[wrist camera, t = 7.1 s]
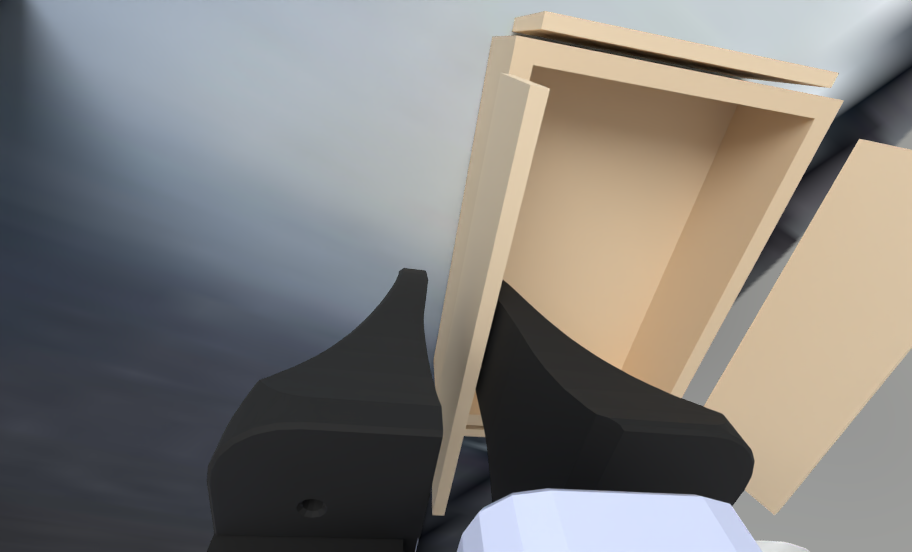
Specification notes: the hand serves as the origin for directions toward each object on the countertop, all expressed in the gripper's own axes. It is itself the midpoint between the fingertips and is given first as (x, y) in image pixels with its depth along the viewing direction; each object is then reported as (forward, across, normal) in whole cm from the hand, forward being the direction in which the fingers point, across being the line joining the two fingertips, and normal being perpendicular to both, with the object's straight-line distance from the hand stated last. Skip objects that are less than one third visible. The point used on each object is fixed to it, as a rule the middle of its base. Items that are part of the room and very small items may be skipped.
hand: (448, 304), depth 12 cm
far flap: (0, -12, 0) cm, 12 cm away
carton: (+6, -6, 0) cm, 9 cm away
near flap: (0, -1, 0) cm, 1 cm away
